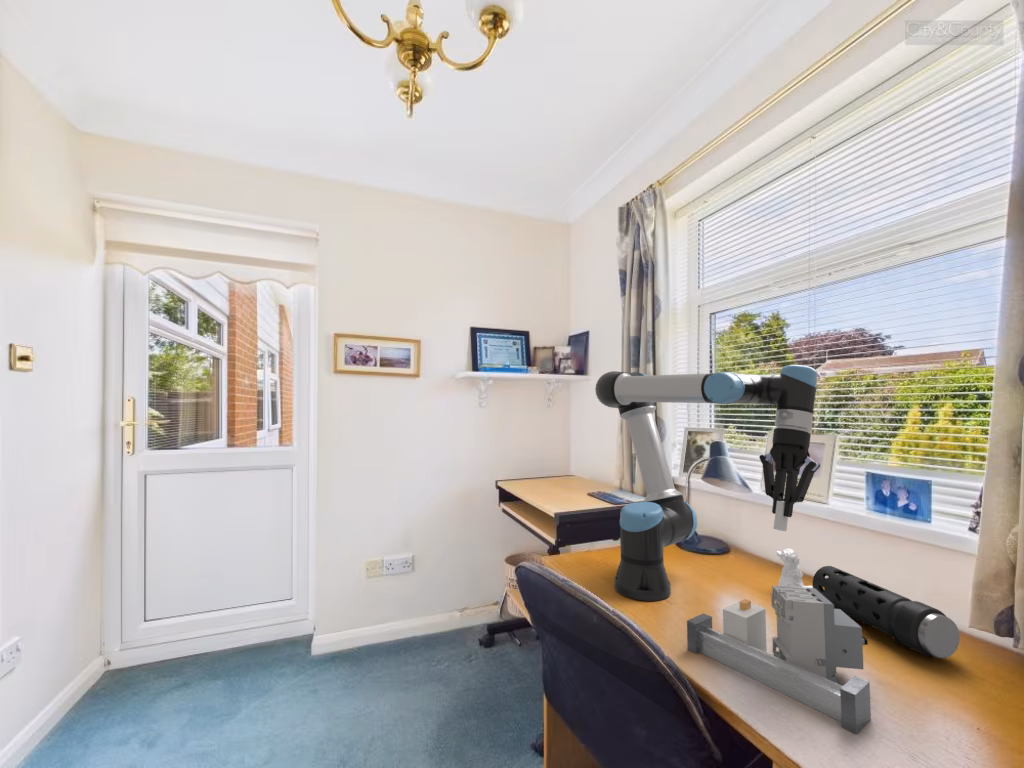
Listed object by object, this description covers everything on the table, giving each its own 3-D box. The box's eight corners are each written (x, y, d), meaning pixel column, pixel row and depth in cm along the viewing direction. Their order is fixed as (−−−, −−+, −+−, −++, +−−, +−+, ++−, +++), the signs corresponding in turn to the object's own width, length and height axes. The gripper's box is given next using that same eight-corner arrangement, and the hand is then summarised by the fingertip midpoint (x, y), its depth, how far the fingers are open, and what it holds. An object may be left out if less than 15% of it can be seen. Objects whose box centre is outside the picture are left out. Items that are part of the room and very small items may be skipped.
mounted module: (723, 652, 94) (722, 602, 95) (743, 642, 99) (741, 593, 99) (747, 664, 90) (746, 611, 91) (766, 652, 95) (765, 601, 95)
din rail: (687, 649, 96) (686, 620, 96) (704, 641, 99) (703, 613, 99) (856, 734, 71) (855, 694, 71) (870, 719, 74) (869, 681, 75)
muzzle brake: (845, 604, 118) (843, 563, 118) (965, 664, 90) (962, 611, 91) (811, 606, 117) (810, 565, 117) (923, 668, 89) (920, 614, 89)
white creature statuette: (821, 596, 122) (819, 551, 123) (801, 602, 118) (800, 556, 119) (787, 584, 131) (785, 542, 131) (767, 589, 127) (766, 546, 128)
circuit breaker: (875, 692, 81) (871, 607, 82) (787, 682, 84) (785, 600, 85) (852, 668, 89) (849, 590, 89) (773, 660, 92) (770, 585, 92)
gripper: (756, 424, 111) (743, 521, 108) (813, 429, 100) (801, 536, 97) (773, 430, 115) (761, 524, 112) (830, 435, 104) (818, 539, 101)
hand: (779, 529), depth 105 cm, fingers closed
